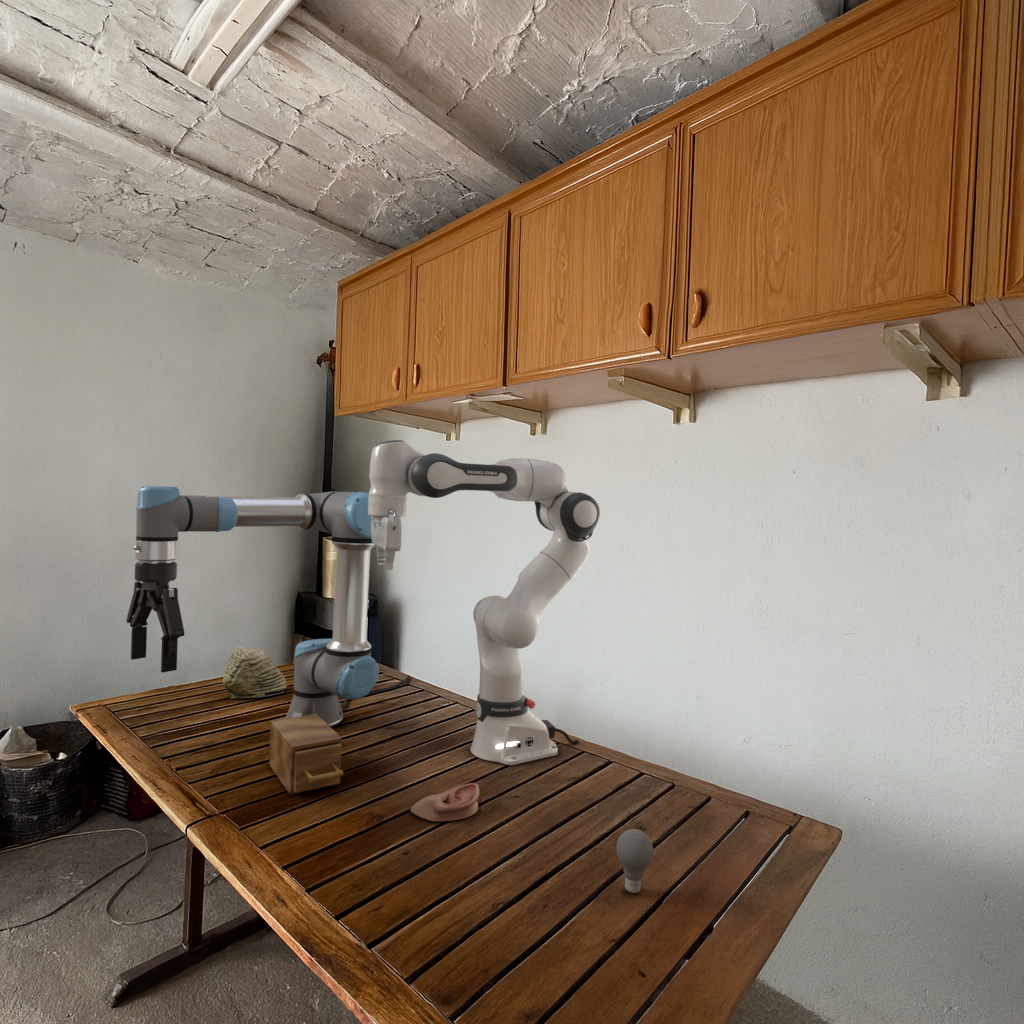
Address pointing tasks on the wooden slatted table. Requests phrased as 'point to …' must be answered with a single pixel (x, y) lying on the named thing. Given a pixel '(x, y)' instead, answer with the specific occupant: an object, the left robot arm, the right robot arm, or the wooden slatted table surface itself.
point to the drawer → (317, 767)
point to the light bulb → (634, 857)
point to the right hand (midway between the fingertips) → (384, 567)
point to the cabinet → (296, 743)
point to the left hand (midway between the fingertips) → (153, 664)
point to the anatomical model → (449, 804)
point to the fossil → (252, 674)
